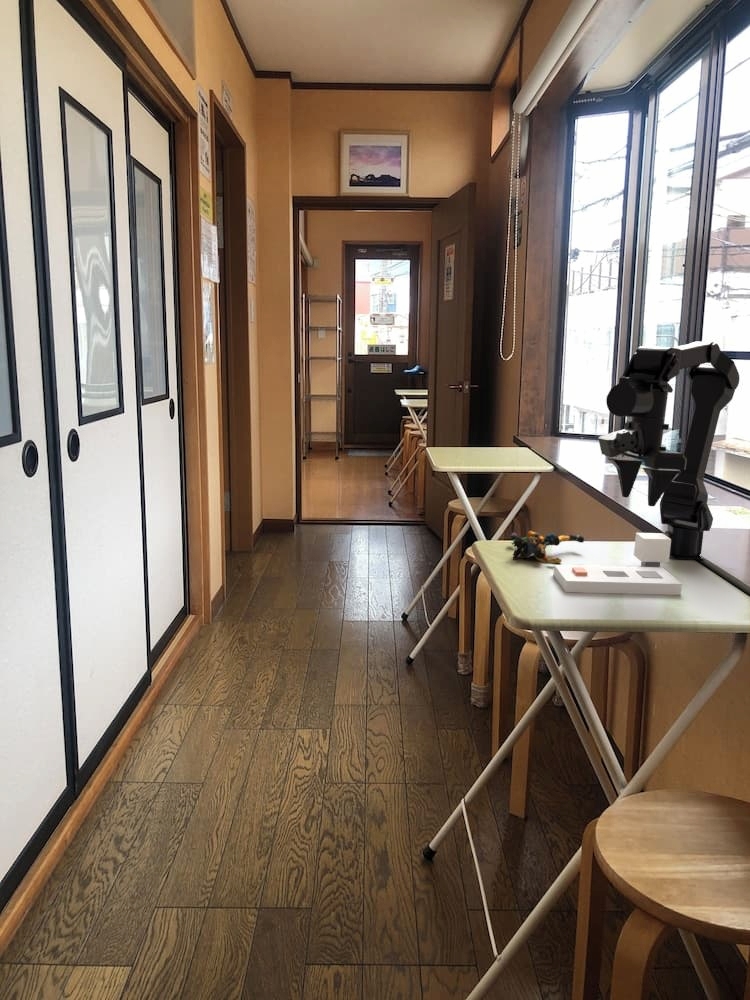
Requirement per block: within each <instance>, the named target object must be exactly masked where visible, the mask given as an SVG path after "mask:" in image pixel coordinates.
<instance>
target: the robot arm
mask: <svg viewBox="0 0 750 1000" xmlns="http://www.w3.org/2000/svg"><path fill="white" fill-rule="evenodd" d="M682 369H683V370H684V369H687V370H686V375H687V378H688V380H689V382H690V394H691V396H692V400H693V402H694V410H693V414H692V418H691V421H690V426H689V430H688V434H687V438H686V440H685V441H686V442H685V446H684V450H683V453H682V452H678V451H677V452H676V451H673V450H671V451H670V450H667V447H666V446H663V445H662V443H663V436H664V435H663V434H664V430H665V431H668V430H669V428H670V424H668V423H665V421H666V410H667V404H668V396H669V393H673V391H674V390H673V387H672V386H671V384H669V382H670V380H672V379H674V378H675V377H676V376H679V374H680V370H682ZM622 373H623V374H622V376H620V377H619V378H618V384H616V385H614V386H613V387H611V389H610V390H609V392H608V393H607V395H606V399H605V400H606V406H607V408H608V411H609V412H610V413H611V414H612V415H613V416H616V417H620V418H621V417H623V418H624V417H625V418H626V417H629V418H630V417H631V419H630V420H626V421H625V423H624V428H623V429H619V430H616V431H613V432H610V433H607V434H603V435H601V436H598V439H597V440H598V442H599V447H600V452H601V455H604V456H606V457H608V458H607V460H608V461H609V462H610V463H611V464H612V465H613V466H614V467H615V468H616V471H617V476H618V480H619V481H618V482H619V486H620V492H621V496H622V498H629V497H630V495H631V492H632V490H633V488H634V485H635V482H636V480H637V476H638V474H639V471H640V469H641V468H642V470H643V471H644V473H645V474H646V475H647V477H648V478H647V480H648V483H647V484H648V486H647V506H649V507H655V506H656V505H657V503H659V513H660V514H659V515H660V523H661V524H662V525H667V530H666V531H664V533H663V534H664V535H666V536H667V537H669V538H670V539H671V546H670V556H669V558H671V559H673V560H674V559H676V560H702V559H701V557H700V556H699V555H700V554H701V555H702V548H703V539H704V532H709V531H710V529H712V526H713V522H714V521H713V520H714V517H713V514H712V512H711V510H710V508H709V505H708V499H709V494H708V491H707V489H706V488H707V487H706V485H705V483H704V479H705V478H704V477H705V474H706V471H707V466H708V462H709V458H710V454H711V450H712V447H713V446H712V445H713V442H714V438H715V433H716V431H717V430H716V429H717V426H718V422H719V418H720V414H721V411H722V410H723V409H724V408H725V407H726V406H727V405H728V404H729V403H730V402H731V401H732V400H733V398H734V394H735V392H736V390H737V388H738V387H739V384H740V373H739V371H738V368H737V366H736V363H735V361H734V360H733V359H731V358H730V357H729V356H728V355H726V353H724V352H722V350H721V348H720V346H719V344H718V343H715V341H694V342H690V343H687V344H682V345H677V346H673V347H669V346H666V347H665V346H663V347H662V346H641V345H640V346H639V347H637V348H636V349H635V352H634V353H633V354H632V356H631V358H630V360H629V361H628V364H627V365H626V368H625V370H624V371H623V372H622ZM643 462H644V466H645V467H642V464H643ZM659 500H660V502H658V501H659ZM661 524H660V525H661Z"/></svg>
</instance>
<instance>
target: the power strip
mask: <svg viewBox="0 0 750 1000" xmlns="http://www.w3.org/2000/svg"><path fill="white" fill-rule="evenodd" d="M552 572H553V577H554V578H555V579H556V581H557V583H559V585H560V587H562V589H563V590H564V592H565V593H588V594H589V593H591V594H592V593H593V594H595V593H596V594H628V595H630V594H631V595H633V594H635V595H662V596H663V595H664V596H665V595H669V596H674V595H675V596H681V595H682V582H680V581H679V580H678V579H677V578H675V576H673V575H672V574H671V573H669V572H668V571H667V570H666V569H665V568H663V567H661V566H660V567H641V566H624V565H623V566H621V565H619V566H617V565H587V564H586V565H585V564H583V565H579V564H574V565H573V564H554V565H553V571H552Z"/></svg>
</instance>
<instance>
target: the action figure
mask: <svg viewBox="0 0 750 1000" xmlns="http://www.w3.org/2000/svg"><path fill="white" fill-rule="evenodd" d="M526 534H527V536H524V537H521V536H519V535H518V533H516V532H514V531H513V532H512V533H511V534H510V535H509V538H510V539H511V540H513V541H512V542H511V544H512V546H513V547H514V548H515V550H514V551H513V553H512V560H514V561H517V560H516V559H518V557H520V558H527V559H529V558H530V557H531V556H532V555H534V558H535V559H536V560H537V561H539V560H540V561H539V562H541V561H542V563H551V564H552V563H553V564H561V562H562V561H563V559H561V558H559V557H558V556H557V557H548V556H547V552H546V548H547V547H548V546H559V545H560V543H561V542H565V541H576V542H578V543H584V541H585V537H584V536H583V535H578V534H572V535H571V534H569V535H559V536H558V535H555V534H554V533H553V532H552V533H549V534H547V535H546V536H545V537H543V536H542V535H541V534H540V533H538V532H535V531H532V530H529V531H527V533H526Z"/></svg>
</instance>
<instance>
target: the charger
mask: <svg viewBox="0 0 750 1000" xmlns="http://www.w3.org/2000/svg"><path fill="white" fill-rule="evenodd" d="M664 534H665V533H661V532H660V533H659V532H635V540H634V550H633V555H634V557H635V558H636V559H638V560H639V561H640V562H641V563H640V567H661V563H669V562H670V546H671V539H670V538H669V537H667V536H666V535H664Z"/></svg>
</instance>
